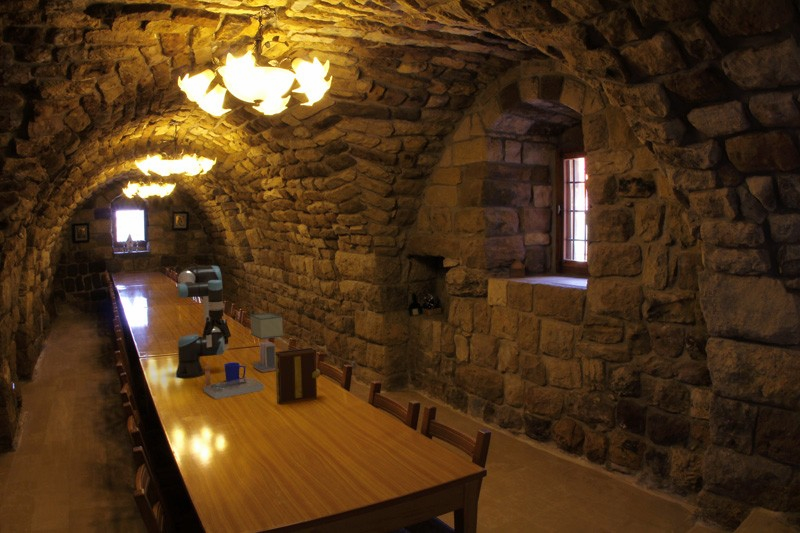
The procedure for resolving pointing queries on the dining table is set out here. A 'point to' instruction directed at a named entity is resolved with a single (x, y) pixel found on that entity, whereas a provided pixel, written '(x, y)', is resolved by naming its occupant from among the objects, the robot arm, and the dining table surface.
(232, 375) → the mug
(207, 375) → the headed peg
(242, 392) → the keyhole plate
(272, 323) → the desk lamp
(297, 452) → the dining table surface
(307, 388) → the book
